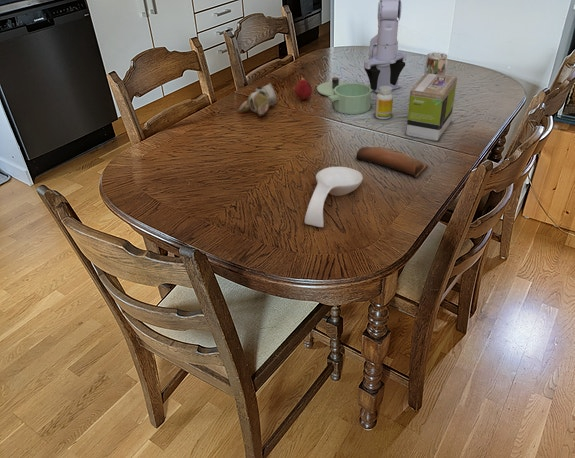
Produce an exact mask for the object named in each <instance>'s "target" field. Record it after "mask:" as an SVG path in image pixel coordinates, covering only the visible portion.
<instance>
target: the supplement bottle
mask: <svg viewBox="0 0 575 458" xmlns="http://www.w3.org/2000/svg"><path fill="white" fill-rule="evenodd" d="M392 92H393V90H392V87H390V86H381V87H379V93H377V94H376V97H375V109H374V117H375V118H377V119H379V120H388V119H390V118H391V117H392V114H393V105H394V95H393V93H392Z"/></svg>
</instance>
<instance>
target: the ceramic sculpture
mask: <svg viewBox="0 0 575 458" xmlns="http://www.w3.org/2000/svg"><path fill="white" fill-rule="evenodd" d="M276 102H277V95H276V92H275V90H274V87H273V84H272V83H271V82H269V83H268V84H266V85H264V86H257V87H256V88H255V90H253V91H251V93H249V94H248V97H247V100H244V101H243V102H242V103H240V106H239V107H238V109H236V110H235V112H236V113H246V112H249V111H250V110H251V112H253V113H256V114H257V115H258V117H264V116H266V115H267V114H268V112H269V110H270V107H274V106H275V105H276Z"/></svg>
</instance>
